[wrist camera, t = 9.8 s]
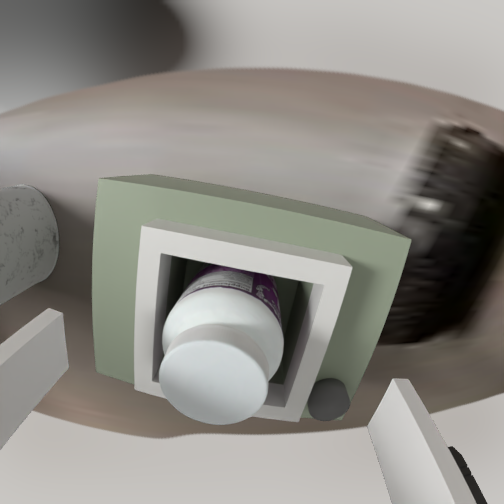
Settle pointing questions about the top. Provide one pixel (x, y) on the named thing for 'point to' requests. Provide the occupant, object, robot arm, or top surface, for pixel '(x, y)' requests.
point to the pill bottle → (222, 345)
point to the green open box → (251, 259)
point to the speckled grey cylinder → (25, 240)
